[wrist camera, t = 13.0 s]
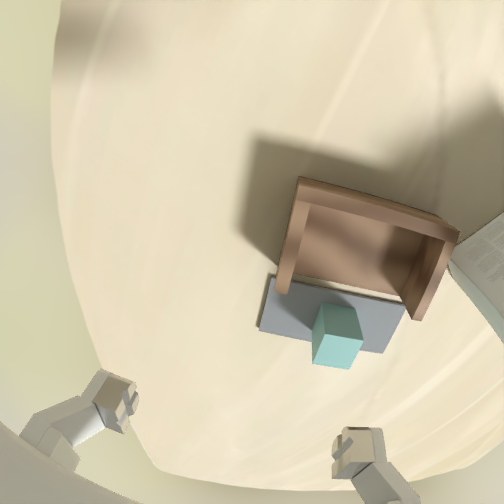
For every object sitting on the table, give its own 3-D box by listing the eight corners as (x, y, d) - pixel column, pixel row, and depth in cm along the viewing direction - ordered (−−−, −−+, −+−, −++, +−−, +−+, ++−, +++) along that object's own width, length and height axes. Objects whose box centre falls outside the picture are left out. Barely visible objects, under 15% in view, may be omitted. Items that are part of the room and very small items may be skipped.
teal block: (321, 302, 39) (324, 333, 32) (355, 309, 38) (363, 340, 32) (311, 330, 41) (312, 363, 34) (343, 336, 40) (349, 369, 34)
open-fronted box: (298, 176, 34) (298, 185, 28) (437, 215, 32) (459, 231, 26) (277, 266, 38) (273, 291, 32) (406, 295, 37) (421, 321, 31)
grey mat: (271, 275, 39) (271, 277, 39) (405, 304, 38) (406, 306, 37) (258, 328, 43) (258, 330, 42) (381, 351, 41) (382, 353, 41)
